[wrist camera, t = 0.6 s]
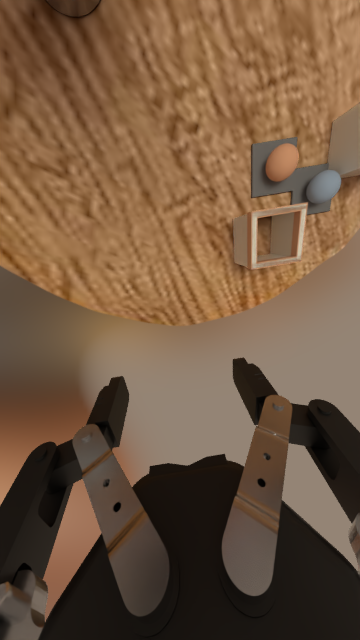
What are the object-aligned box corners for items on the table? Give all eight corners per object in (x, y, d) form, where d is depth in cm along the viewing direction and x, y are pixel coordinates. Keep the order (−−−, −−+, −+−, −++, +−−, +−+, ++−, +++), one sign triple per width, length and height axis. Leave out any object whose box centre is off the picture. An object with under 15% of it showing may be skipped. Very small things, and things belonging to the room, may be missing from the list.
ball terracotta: (260, 153, 29) (276, 139, 25) (288, 149, 29) (307, 134, 25) (260, 186, 31) (274, 178, 27) (286, 182, 31) (304, 174, 27)
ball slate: (301, 177, 31) (322, 167, 27) (327, 172, 31) (352, 162, 27) (298, 207, 33) (317, 203, 29) (323, 203, 33) (345, 198, 29)
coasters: (251, 145, 29) (252, 144, 29) (339, 131, 29) (341, 129, 29) (251, 223, 34) (252, 223, 33) (327, 211, 34) (329, 210, 33)
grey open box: (232, 217, 33) (251, 211, 26) (276, 210, 33) (307, 202, 26) (233, 263, 36) (251, 269, 29) (273, 257, 36) (301, 261, 29)
